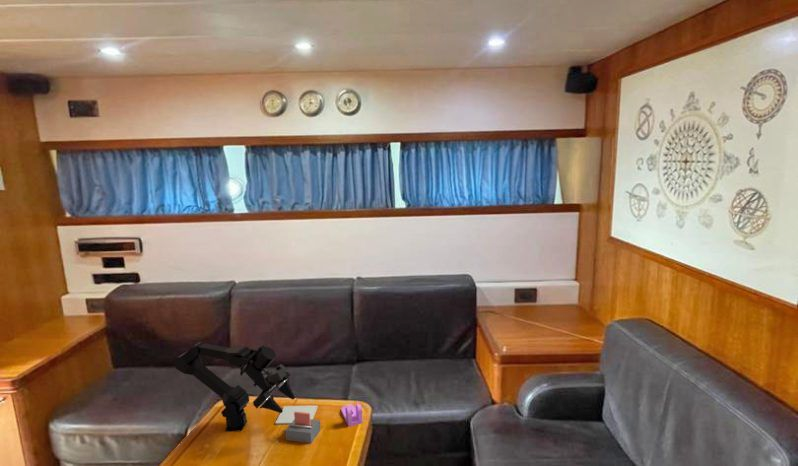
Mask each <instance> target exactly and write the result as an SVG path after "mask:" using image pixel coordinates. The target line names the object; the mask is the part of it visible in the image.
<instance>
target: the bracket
mask: <svg viewBox="0 0 798 466" xmlns="http://www.w3.org/2000/svg"><path fill="white" fill-rule="evenodd" d="M340 411H341V414H342V416H343V417H342V418H343V419H344V420H345V423H346V424H347V426H348V427H353V426H356V425H360V424H363V408H362V405H361V403H358V404H355V405H352V404H347V405H346V404H345V405H344V406H342V407H341V409H340Z"/></svg>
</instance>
